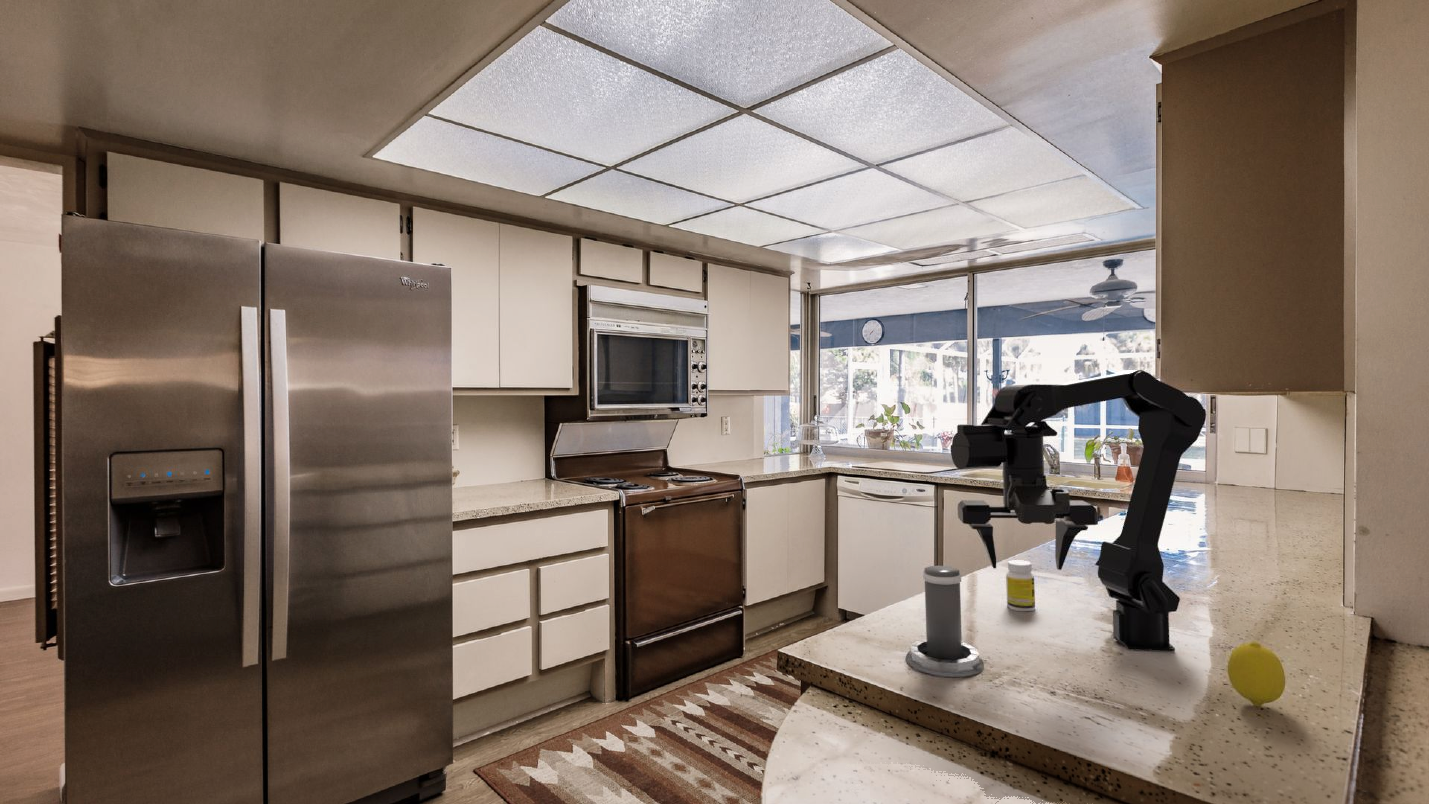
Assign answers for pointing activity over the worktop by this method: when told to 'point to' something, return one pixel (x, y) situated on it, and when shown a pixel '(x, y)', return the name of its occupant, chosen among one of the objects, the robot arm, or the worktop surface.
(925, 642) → the mount ring
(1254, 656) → the lemon
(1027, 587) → the supplement bottle
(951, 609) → the grey cylinder
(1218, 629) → the worktop surface
